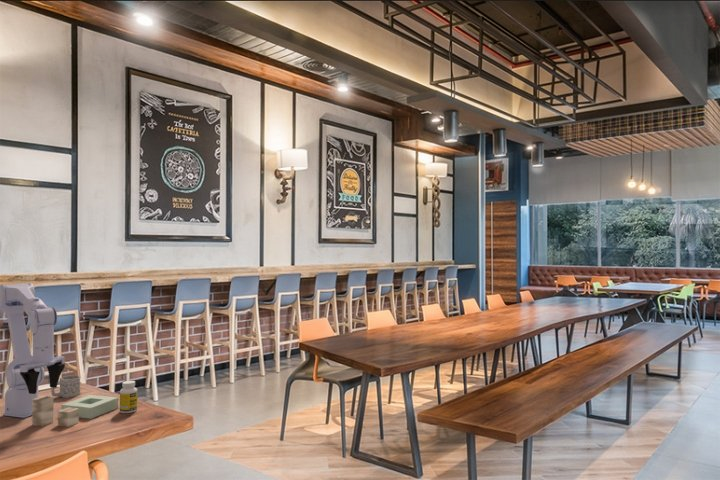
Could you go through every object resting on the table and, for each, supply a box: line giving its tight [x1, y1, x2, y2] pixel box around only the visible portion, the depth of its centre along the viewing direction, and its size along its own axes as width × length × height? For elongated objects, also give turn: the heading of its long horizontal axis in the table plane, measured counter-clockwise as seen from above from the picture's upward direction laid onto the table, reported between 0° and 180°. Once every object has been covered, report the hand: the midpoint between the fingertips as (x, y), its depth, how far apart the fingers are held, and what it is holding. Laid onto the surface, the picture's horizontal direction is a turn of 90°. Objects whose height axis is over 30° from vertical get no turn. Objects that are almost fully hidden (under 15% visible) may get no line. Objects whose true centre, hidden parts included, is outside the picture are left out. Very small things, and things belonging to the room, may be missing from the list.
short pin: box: [57, 407, 80, 428], centre depth 167 cm, size 4×4×4 cm
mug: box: [50, 374, 81, 399], centre depth 197 cm, size 10×7×7 cm
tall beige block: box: [31, 395, 54, 427], centre depth 167 cm, size 4×4×8 cm
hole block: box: [61, 394, 119, 420], centre depth 179 cm, size 12×12×4 cm
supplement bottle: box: [119, 380, 138, 414], centre depth 179 cm, size 5×5×10 cm
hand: (43, 390), depth 167 cm, fingers open, 7 cm apart
